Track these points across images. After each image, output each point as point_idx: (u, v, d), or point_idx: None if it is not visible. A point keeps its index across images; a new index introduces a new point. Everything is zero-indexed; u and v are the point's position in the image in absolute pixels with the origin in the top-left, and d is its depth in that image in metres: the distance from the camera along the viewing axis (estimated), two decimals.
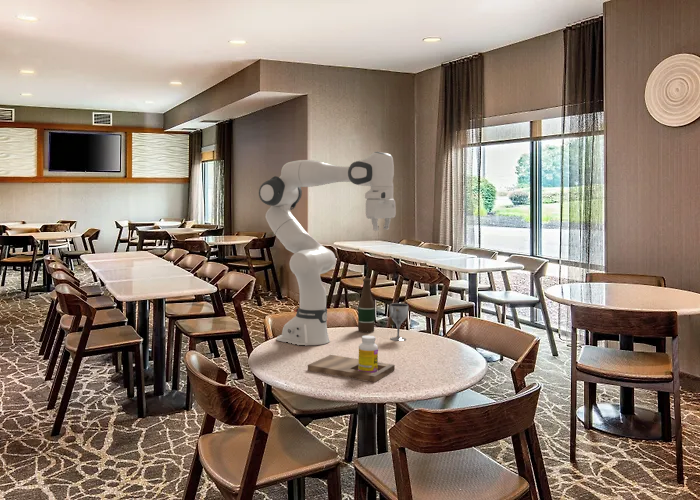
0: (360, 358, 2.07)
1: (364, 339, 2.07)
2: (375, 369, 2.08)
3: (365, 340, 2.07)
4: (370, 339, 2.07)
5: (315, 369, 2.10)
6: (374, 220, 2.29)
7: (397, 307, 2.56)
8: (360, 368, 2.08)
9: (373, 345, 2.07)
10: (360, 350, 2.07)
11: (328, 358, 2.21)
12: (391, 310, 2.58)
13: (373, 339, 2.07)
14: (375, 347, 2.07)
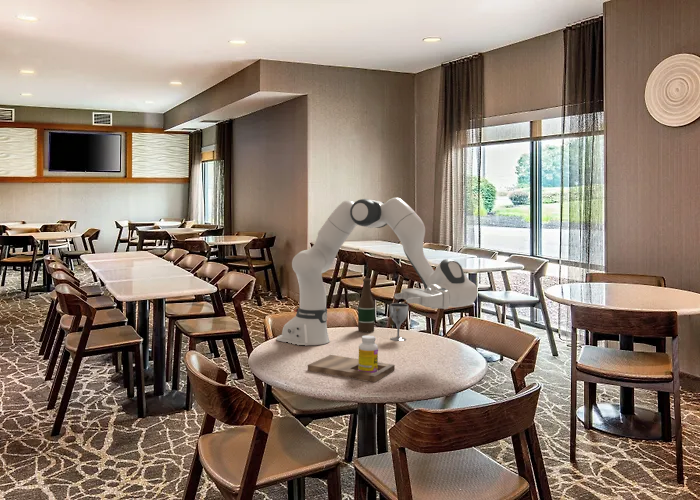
0: (360, 358, 2.07)
1: (364, 339, 2.07)
2: (375, 369, 2.08)
3: (365, 340, 2.07)
4: (370, 339, 2.07)
5: (315, 369, 2.10)
6: (419, 301, 2.07)
7: (397, 307, 2.56)
8: (360, 368, 2.08)
9: (373, 345, 2.07)
10: (360, 350, 2.07)
11: (328, 358, 2.21)
12: (391, 310, 2.58)
13: (373, 339, 2.07)
14: (375, 347, 2.07)
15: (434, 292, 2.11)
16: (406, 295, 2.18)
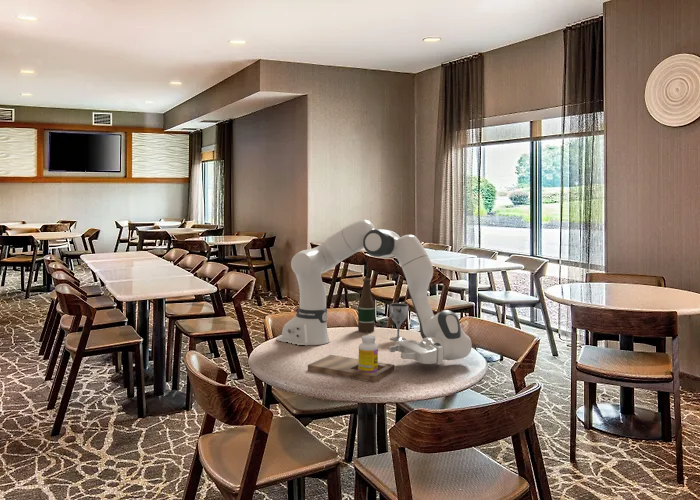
0: (360, 358, 2.07)
1: (364, 339, 2.07)
2: (375, 369, 2.08)
3: (365, 340, 2.07)
4: (370, 339, 2.07)
5: (315, 369, 2.10)
6: (414, 357, 2.09)
7: (397, 307, 2.56)
8: (360, 368, 2.08)
9: (373, 345, 2.07)
10: (360, 350, 2.07)
11: (328, 358, 2.21)
12: (391, 310, 2.58)
13: (373, 339, 2.07)
14: (375, 347, 2.07)
15: (428, 347, 2.13)
16: (401, 348, 2.20)
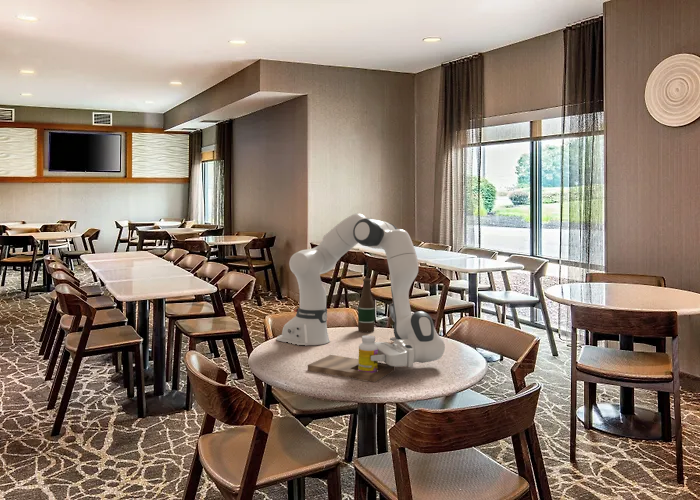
0: (360, 358, 2.07)
1: (364, 339, 2.07)
2: (375, 369, 2.08)
3: (365, 340, 2.07)
4: (370, 339, 2.07)
5: (315, 369, 2.10)
6: (383, 359, 2.05)
7: None
8: (360, 368, 2.08)
9: (373, 345, 2.07)
10: (360, 350, 2.07)
11: (328, 358, 2.21)
12: (391, 310, 2.58)
13: (373, 339, 2.07)
14: (375, 347, 2.07)
15: (399, 349, 2.08)
16: None
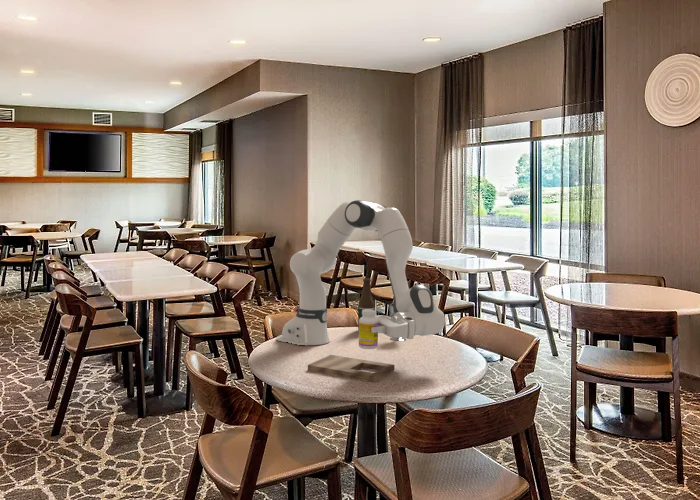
0: (360, 332, 2.07)
1: (364, 312, 2.06)
2: (375, 343, 2.07)
3: (365, 313, 2.06)
4: (370, 312, 2.06)
5: (315, 369, 2.10)
6: (383, 330, 2.04)
7: None
8: (360, 342, 2.07)
9: (373, 319, 2.06)
10: (360, 324, 2.07)
11: (328, 358, 2.21)
12: (391, 310, 2.58)
13: (373, 312, 2.06)
14: (375, 320, 2.06)
15: (400, 321, 2.08)
16: None
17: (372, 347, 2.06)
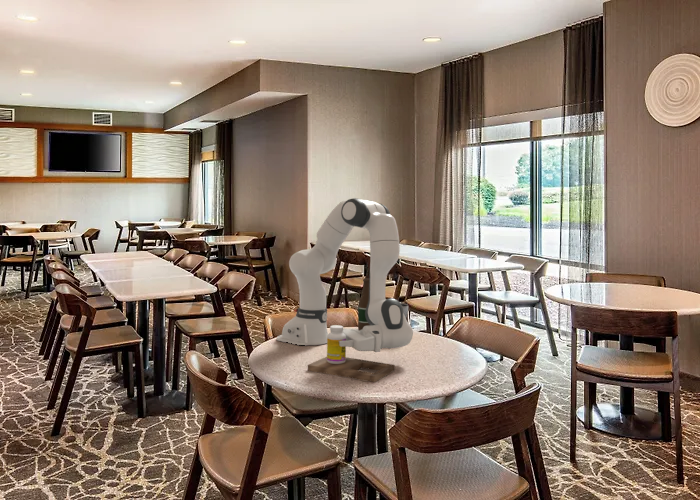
0: (328, 347, 2.14)
1: (332, 329, 2.13)
2: (343, 358, 2.14)
3: (333, 330, 2.13)
4: (338, 329, 2.13)
5: (315, 369, 2.10)
6: (351, 344, 2.10)
7: None
8: (328, 357, 2.14)
9: (341, 334, 2.13)
10: (328, 339, 2.13)
11: None
12: None
13: (341, 329, 2.13)
14: (343, 336, 2.13)
15: (367, 335, 2.14)
16: None
17: (340, 362, 2.13)
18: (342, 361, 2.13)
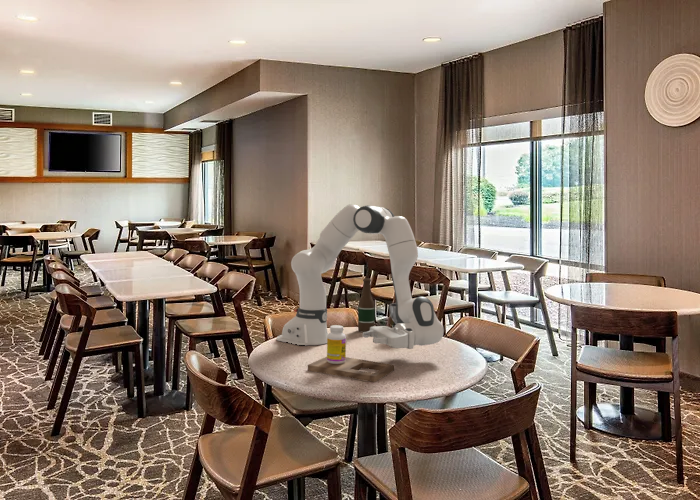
0: (328, 347, 2.14)
1: (332, 329, 2.13)
2: (343, 358, 2.14)
3: (333, 330, 2.13)
4: (338, 329, 2.13)
5: (315, 369, 2.10)
6: (385, 341, 2.15)
7: None
8: (328, 357, 2.14)
9: (341, 334, 2.13)
10: (328, 339, 2.13)
11: None
12: (391, 310, 2.58)
13: (341, 329, 2.13)
14: (343, 336, 2.13)
15: (400, 332, 2.19)
16: (374, 333, 2.26)
17: (340, 362, 2.13)
18: (342, 361, 2.13)
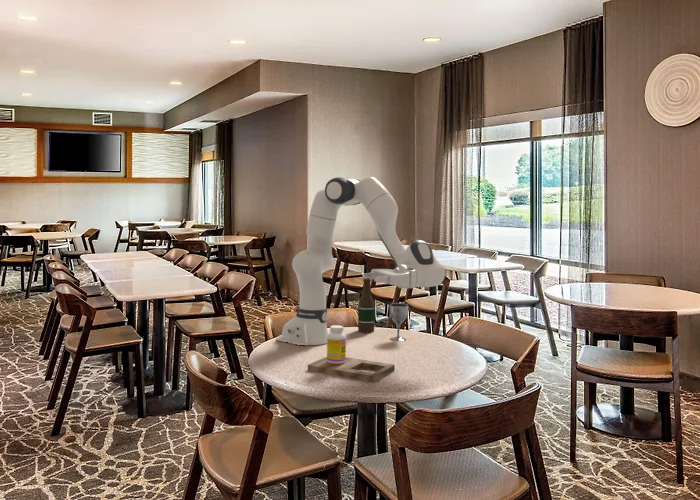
0: (328, 347, 2.14)
1: (332, 329, 2.13)
2: (343, 358, 2.14)
3: (333, 330, 2.13)
4: (338, 329, 2.13)
5: (315, 369, 2.10)
6: (387, 280, 2.13)
7: (397, 307, 2.56)
8: (328, 357, 2.14)
9: (341, 334, 2.13)
10: (328, 339, 2.13)
11: None
12: (391, 310, 2.58)
13: (341, 329, 2.13)
14: (343, 336, 2.13)
15: (402, 272, 2.17)
16: (375, 275, 2.24)
17: (340, 362, 2.13)
18: (342, 361, 2.13)
